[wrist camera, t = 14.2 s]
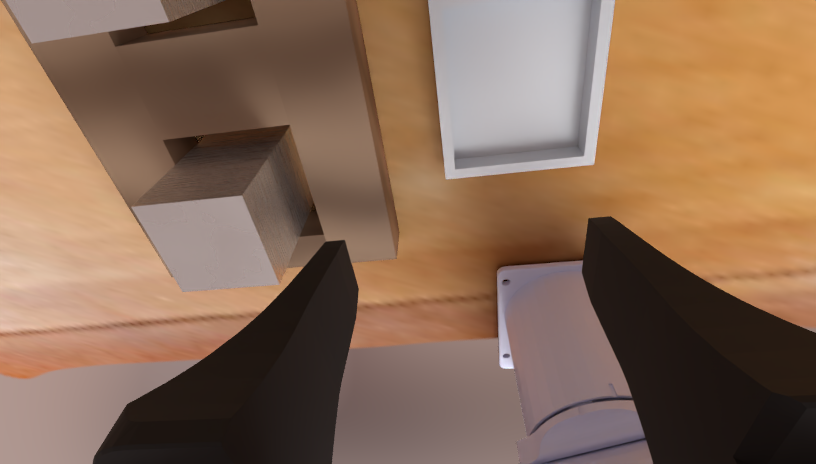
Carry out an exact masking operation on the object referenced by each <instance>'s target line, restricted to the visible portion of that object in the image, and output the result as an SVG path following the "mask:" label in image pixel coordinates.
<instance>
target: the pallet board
mask: <svg viewBox="0 0 816 464" xmlns="http://www.w3.org/2000/svg"><path fill="white" fill-rule="evenodd" d="M1 1H2V3H3V4H4V6H5V7H6V9H7V11H8V12H9V14H10V16H11V17H12V19H13V20H14V22H15V24H16V25H17V27H18V29H19V30H20V32H21V33H22V35H23V37H24V38H25V40H26V41H27V43H28V45H29V46H30V48H31V50H32V51H33V53H34V54H35V56H36V58H37V59H38V61H39V63H40V64H41V66H42V67H43V69H44V71H45V72H46V74H47V76H48V77H49V79H50V80H51V82H52V84H53V85H54V87H55V89H56V90H57V92H58V93H59V95H60V97H61V98H62V100H63V102H64V103H65V105H66V106H67V108H68V110H69V111H70V113H71V114H72V116H73V118H74V119H75V121H76V123H77V124H78V126H79V127H80V129H81V131H82V132H83V134H84V136H85V137H86V139H87V140H88V142H89V144H90V145H91V147H92V149H93V150H94V152H95V153H96V155H97V157H98V158H99V160H100V162H101V163H102V165H103V166H104V168H105V170H106V171H107V173H108V175H109V176H110V178H111V179H112V181H113V183H114V184H115V186H116V187H117V189H118V191H119V192H120V194H121V196H122V197H123V199H124V200H125V202H126V204H127V205H128V207H129V209H130V210H131V212H132V213H133V215H134V217H135V218H136V220H137V222H138V223H139V225H140V226H141V228H142V230H143V231H144V233H145V235H146V236H147V238H148V239H149V241H150V243H151V244H152V246H153V247H154V249H155V251H156V252H157V254H158V256H159V257H160V259H161V260H162V262H163V264H164V265H165V267H166V269H167V270H168V272H169V273H170V275H171V277H173V275H172V273H171V272H170V270H169V269H168V267H167V265H166V264H165V262H164V260H163V259H162V257H161V255H160V254H159V252H158V250H157V249H156V247H155V246H154V244H153V242H152V241H151V239H150V237H149V236H148V234H147V232H146V231H145V229H144V227H143V226H142V224H141V223H140V221H139V219H138V218H137V216H136V214H135V213H134V211H133V209H132V208H131V206H133V205H134V204H135V203H136V202H137V201H138V200H139V199H140V198H141V197H142V196H143V195H144V194H145V193H146V192H147V191H148V190H149V189H150V188H151V187H153V186H154V185H155V184H156V183H157V182H158V181H159V180H160V179H161V178H162V177H163V176H164V175H165V174H166V173H167V172H168V171H169V170H170V169H171V168H173V167H174V166H175V165H176V164H177V163H178V162H179V161H180V160H181V159H182V158H183V157H184V156H185V155H186V154H187V153H188V152H189V151H190V150H192V149H193V148H194V147H195V146H196V145H197V144H198V143H197V141H196V139H195V137H194V136H200V135H208V134H216V133H225V132H233V131H241V130H249V129H258V128H266V127H274V126H282V125H290V128H291V131H292V134H293V137H294V140H295V144H296V147H297V150H298V153H299V156H300V160H301V163H302V166H303V169H304V172H305V175H306V179H307V182H308V185H309V188H310V191H311V195H312V198H313V201H314V204H315V207H316V210H317V211H311V212H309V215H308V217H307V220H306V222H305V224H304V227H303V229H302V232H301V234H300V237H299V239H298V241H297V244H296V246H295V249H294V251H293V253H292V256H291V258H290V261H289V263H288V265H287V268H291V267H304V266H305V265H306V264H307V263H308V262H309V261H310V259H311V258H312V257H313V256H314V255H315V253H316V252H317V251H318V250H319V249H320V247H321V246H322V245H323V244H324V243H325V242H326V241H337V240H345V242H346V246H347V249H348V253H349V256H350V260H351V263H353V262H365V261H377V260H390V259H397V251H398V241H399V228H398V223H397V218H396V212H395V207H394V201H393V196H392V191H391V185H390V180H389V175H388V169H387V164H386V158H385V153H384V148H383V142H382V137H381V132H380V126H379V121H378V115H377V110H376V105H375V99H374V94H373V89H372V83H371V78H370V72H369V67H368V62H367V56H366V51H365V46H364V40H363V35H362V29H361V24H360V19H359V13H358V8H357V3H356V0H251V3H252V7H253V10H254V13H255V16H256V17H255V18H249V19H242V20H236V21H229V22H222V23H216V24H209V25H203V26H196V27H190V28H183V29H177V30H170V31H163V32H157V33H150V34H147V32H146V30H145V27H144V26H140V27H134V28H128V29H121V30H115V31H109V32H102V33H96V34H90V35H83V36H77V37H70V38H64V39H58V40H51V41H45V42H39V43H31V41H30V40H29V38H28V36H27V35H26V33H25V31H24V30H23V28H22V27H21V25H20V23H19V22H18V20H17V18H16V17H15V15H14V14H13V12H12V10H11V9H10V7H9V5H8V4H7V2H6V0H1Z"/></svg>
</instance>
